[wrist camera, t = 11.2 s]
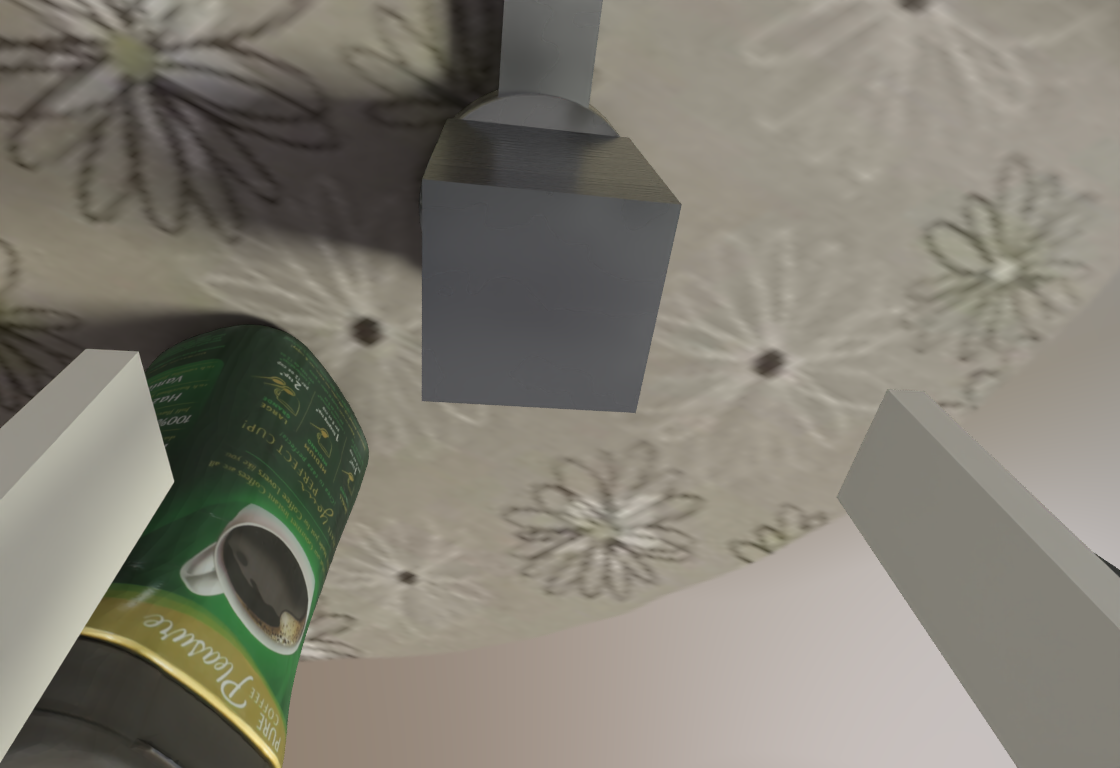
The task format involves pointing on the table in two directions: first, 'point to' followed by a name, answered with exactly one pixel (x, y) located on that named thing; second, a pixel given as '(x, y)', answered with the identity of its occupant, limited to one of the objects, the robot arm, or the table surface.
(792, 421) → the table surface
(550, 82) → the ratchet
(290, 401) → the coffee jar
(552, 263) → the grey rectangular block
